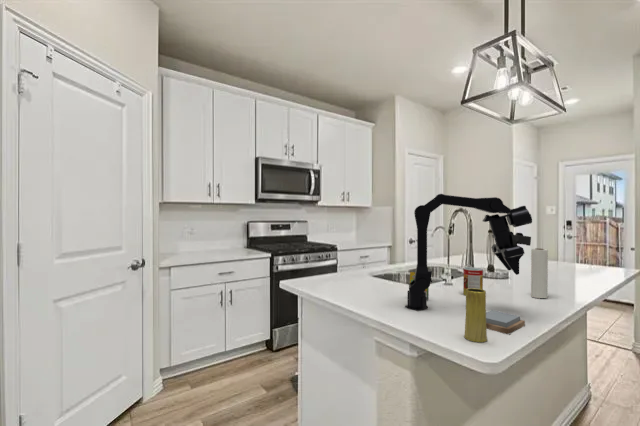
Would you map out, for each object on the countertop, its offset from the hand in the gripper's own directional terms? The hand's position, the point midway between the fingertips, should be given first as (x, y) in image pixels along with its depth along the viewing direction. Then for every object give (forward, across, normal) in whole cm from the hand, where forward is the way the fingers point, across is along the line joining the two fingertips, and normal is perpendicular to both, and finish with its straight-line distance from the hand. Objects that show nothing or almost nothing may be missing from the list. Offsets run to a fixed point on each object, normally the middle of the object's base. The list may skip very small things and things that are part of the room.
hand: (513, 272), depth 123 cm
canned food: (+13, +28, +13) cm, 33 cm away
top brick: (+11, -14, +12) cm, 21 cm away
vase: (+10, -29, +22) cm, 38 cm away
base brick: (+13, -14, +12) cm, 22 cm away
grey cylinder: (+20, +32, -14) cm, 40 cm away
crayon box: (+6, +14, +36) cm, 39 cm away
